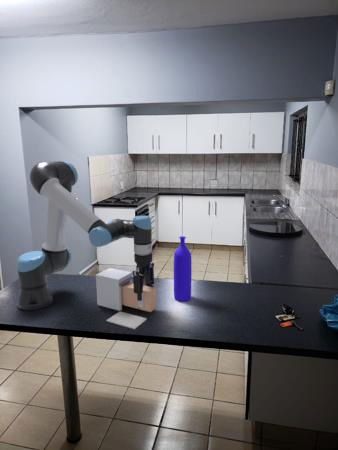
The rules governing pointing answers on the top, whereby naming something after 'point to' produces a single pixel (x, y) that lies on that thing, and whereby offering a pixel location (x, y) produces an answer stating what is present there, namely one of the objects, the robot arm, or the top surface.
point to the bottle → (182, 272)
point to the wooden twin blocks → (131, 298)
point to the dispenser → (111, 287)
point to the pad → (126, 320)
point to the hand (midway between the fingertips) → (144, 304)
